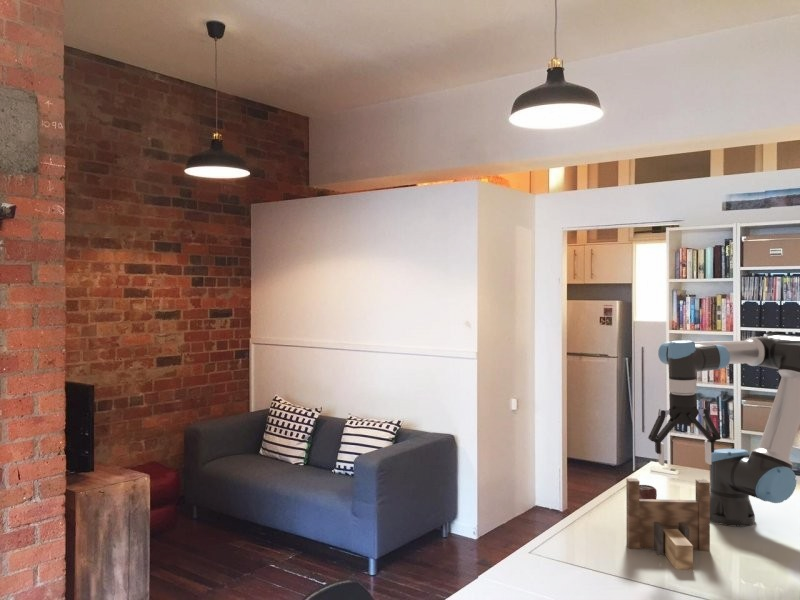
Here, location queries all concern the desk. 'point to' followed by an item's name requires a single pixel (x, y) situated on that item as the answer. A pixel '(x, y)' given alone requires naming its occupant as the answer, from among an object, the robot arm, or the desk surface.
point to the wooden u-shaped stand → (667, 518)
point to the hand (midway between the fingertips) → (684, 464)
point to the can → (647, 492)
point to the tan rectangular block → (677, 548)
